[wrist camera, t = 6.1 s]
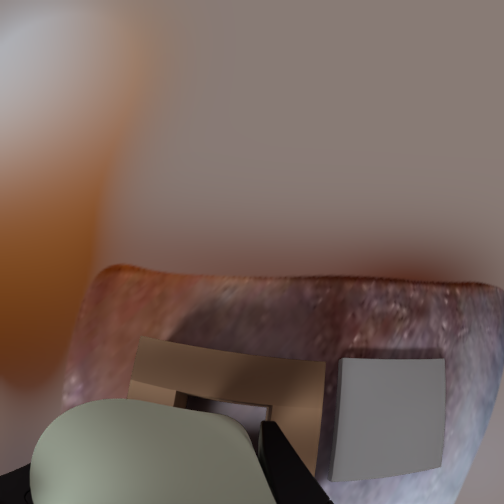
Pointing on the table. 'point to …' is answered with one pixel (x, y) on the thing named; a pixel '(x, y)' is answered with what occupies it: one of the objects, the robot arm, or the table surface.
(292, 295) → the table surface
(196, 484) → the sage peg
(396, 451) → the slate tile
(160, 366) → the walnut pocket block
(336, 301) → the table surface
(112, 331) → the table surface
